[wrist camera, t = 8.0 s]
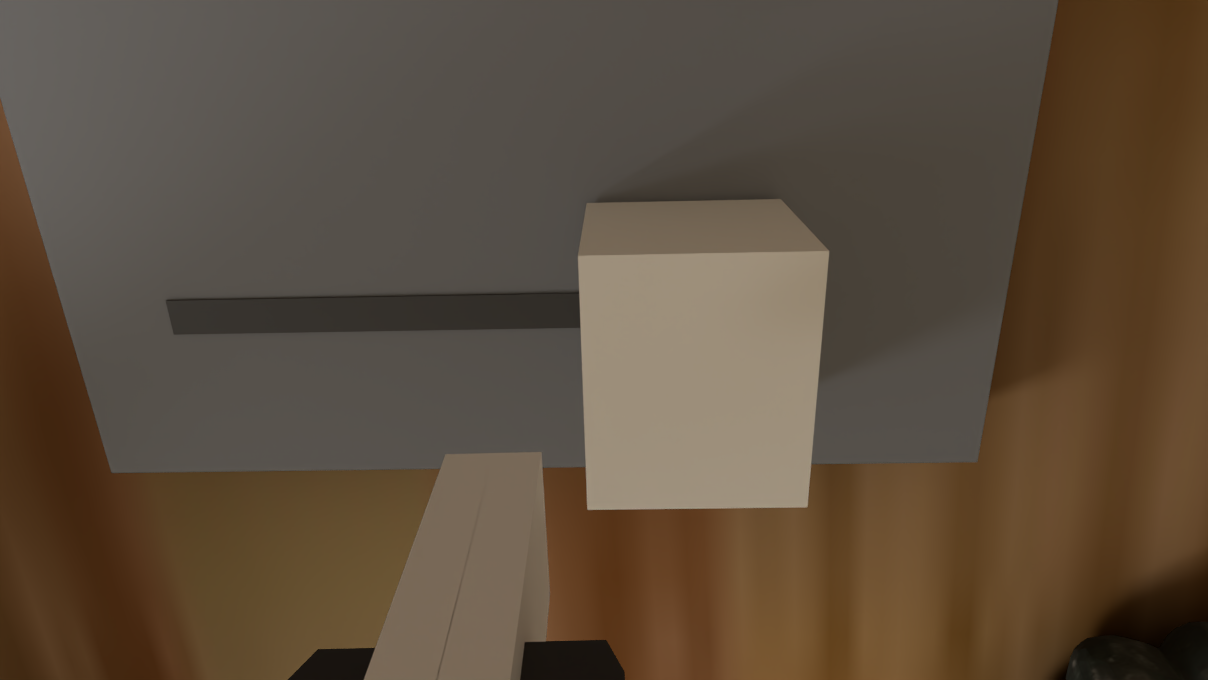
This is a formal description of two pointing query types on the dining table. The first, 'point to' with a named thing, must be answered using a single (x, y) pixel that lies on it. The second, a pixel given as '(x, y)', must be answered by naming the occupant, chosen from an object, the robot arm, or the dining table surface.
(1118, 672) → the squash
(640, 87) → the console
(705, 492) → the block
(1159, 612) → the dining table surface
